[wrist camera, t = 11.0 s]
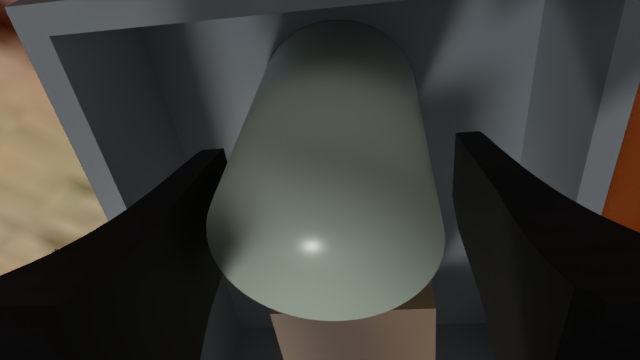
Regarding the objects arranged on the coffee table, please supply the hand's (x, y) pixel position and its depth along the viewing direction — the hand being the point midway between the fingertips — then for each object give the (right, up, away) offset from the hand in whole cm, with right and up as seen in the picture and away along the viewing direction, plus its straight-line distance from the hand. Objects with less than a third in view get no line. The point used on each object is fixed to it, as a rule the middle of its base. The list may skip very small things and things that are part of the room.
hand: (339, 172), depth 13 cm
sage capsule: (0, +3, +3) cm, 4 cm away
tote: (+1, 0, +6) cm, 6 cm away
